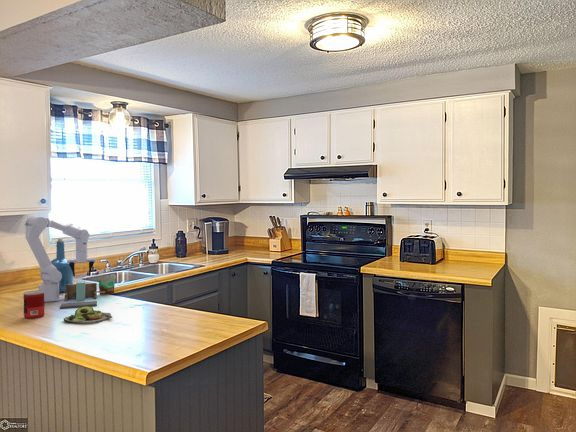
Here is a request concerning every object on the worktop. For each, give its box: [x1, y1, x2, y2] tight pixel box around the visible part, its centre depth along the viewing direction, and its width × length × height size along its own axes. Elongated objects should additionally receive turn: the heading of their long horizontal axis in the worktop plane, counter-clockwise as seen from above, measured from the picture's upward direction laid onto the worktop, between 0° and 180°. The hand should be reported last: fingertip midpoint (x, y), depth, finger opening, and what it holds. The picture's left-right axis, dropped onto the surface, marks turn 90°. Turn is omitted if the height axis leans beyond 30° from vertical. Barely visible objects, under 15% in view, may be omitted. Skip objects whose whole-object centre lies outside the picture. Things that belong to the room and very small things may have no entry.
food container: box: [97, 273, 117, 295], centre depth 256 cm, size 12×6×10 cm, turn 168°
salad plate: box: [63, 306, 113, 325], centre depth 197 cm, size 19×18×5 cm
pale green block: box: [75, 280, 87, 301], centre depth 240 cm, size 4×8×9 cm, turn 22°
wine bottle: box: [50, 238, 75, 294], centre depth 262 cm, size 14×13×30 cm
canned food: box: [23, 289, 45, 320], centre depth 201 cm, size 8×8×11 cm
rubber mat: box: [59, 300, 98, 310], centre depth 223 cm, size 16×8×1 cm, turn 112°
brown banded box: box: [64, 282, 98, 302], centre depth 241 cm, size 15×9×7 cm, turn 112°
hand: (81, 275), depth 251 cm, fingers open, 7 cm apart
